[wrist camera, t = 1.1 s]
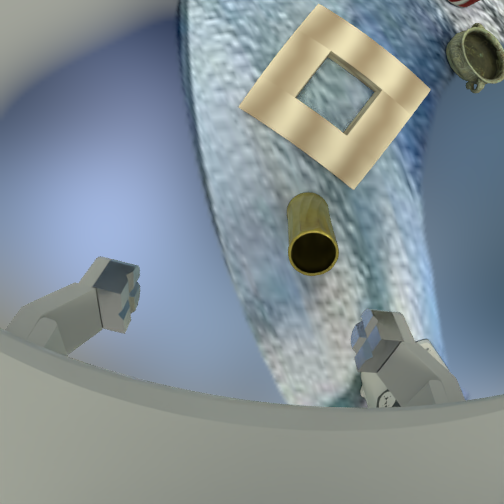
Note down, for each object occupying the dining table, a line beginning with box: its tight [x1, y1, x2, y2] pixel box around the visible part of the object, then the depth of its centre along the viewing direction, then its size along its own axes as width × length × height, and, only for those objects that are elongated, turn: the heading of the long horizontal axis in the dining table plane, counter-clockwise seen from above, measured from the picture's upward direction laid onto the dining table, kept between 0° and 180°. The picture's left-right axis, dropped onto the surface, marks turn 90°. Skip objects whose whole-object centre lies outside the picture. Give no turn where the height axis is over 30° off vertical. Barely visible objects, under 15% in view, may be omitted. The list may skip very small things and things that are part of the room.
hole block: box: [239, 4, 430, 190], centre depth 34 cm, size 18×18×4 cm
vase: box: [287, 193, 339, 276], centre depth 37 cm, size 6×6×14 cm
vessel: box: [446, 23, 504, 93], centre depth 27 cm, size 12×9×6 cm
